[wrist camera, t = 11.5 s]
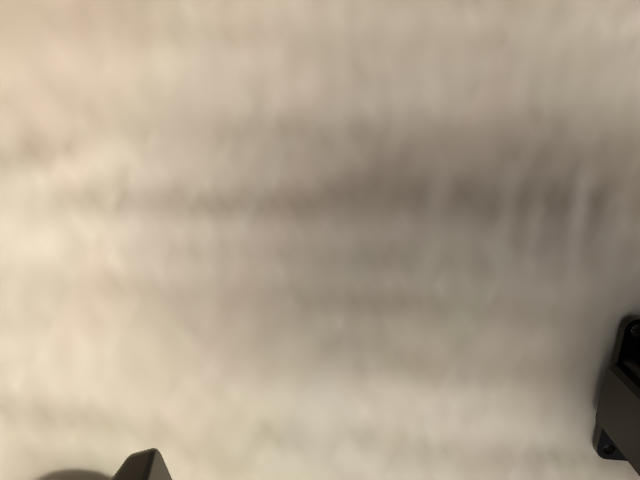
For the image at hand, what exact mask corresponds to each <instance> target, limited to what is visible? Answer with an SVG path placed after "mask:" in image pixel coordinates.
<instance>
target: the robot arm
mask: <svg viewBox="0 0 640 480" xmlns="http://www.w3.org/2000/svg"><path fill="white" fill-rule="evenodd" d="M635 325H639V327H638V329H637V330H636V331H634V332H631V329H632V327H634V326H635ZM596 420H597V426H596V430H595V435H594V439H593V447H594V449H595V451H596V452H597V454H598V455H599V456H600V457H601V458H604V459H610V460H624V461H628V462H629V463H630V464H631V465H632V467H633V468H634V469H635V471H636V472H637V473H638V474H639V476H640V315H630V316H627V317H625V318H624V319H623V320H622V321H621V324H620V326H619V331H618V335H617V339H616V344H615V348H614V352H613V357H612V361H611V364H610V365H609V366H608V367H607V370H606V374H605V378H604V383H603V387H602V392H601V396H600V400H599V405H598V409H597V413H596ZM607 444H610V446H609V447H607V448H604V446H605V445H607ZM112 480H172V478H171V476H170V474H169V471H168V469H167V467H166V464H165V462H164V460H163V458H162V455H161V453H160V452H159V451H158V450H157V449H155V448H151V449H147V450H144V451H140V452H137V453H133V454H131V455H130V456H129V457H128V458H127V459H126V460H125V462H124V463H123V464H122V466H121V467H120V469H119V470H118V471H117V473H116V474H115V475H114V477H113V478H112Z"/></svg>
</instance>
